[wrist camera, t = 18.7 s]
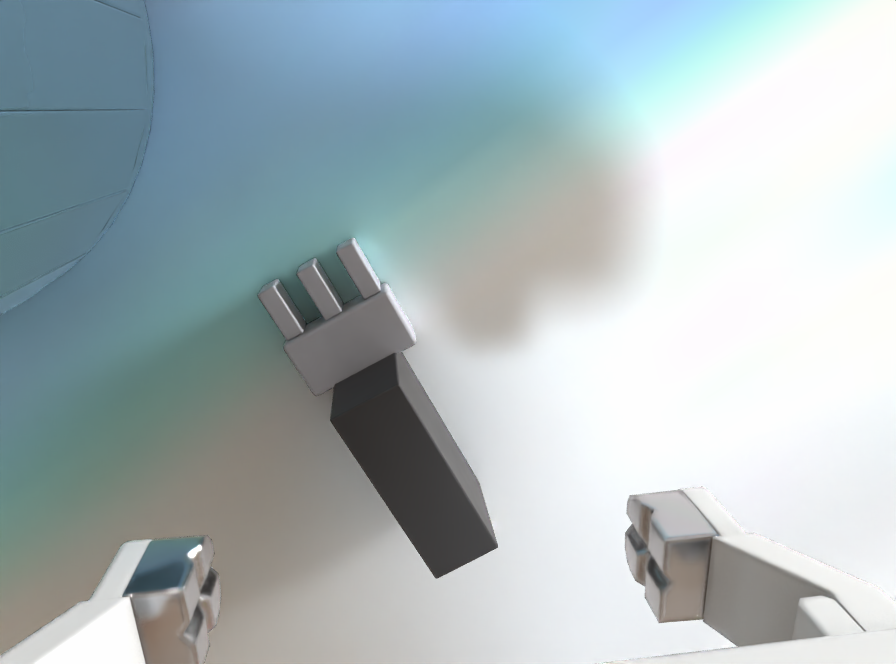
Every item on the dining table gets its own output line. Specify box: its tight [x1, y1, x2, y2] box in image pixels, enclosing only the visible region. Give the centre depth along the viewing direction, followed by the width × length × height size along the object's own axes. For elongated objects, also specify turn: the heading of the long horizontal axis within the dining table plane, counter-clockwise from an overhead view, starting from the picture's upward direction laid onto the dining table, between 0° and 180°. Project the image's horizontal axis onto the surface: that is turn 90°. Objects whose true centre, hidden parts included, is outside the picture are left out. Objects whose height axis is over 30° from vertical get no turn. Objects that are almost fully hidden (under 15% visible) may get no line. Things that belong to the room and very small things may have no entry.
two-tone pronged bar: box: [257, 237, 498, 578], centre depth 16 cm, size 8×3×3 cm, turn 27°
